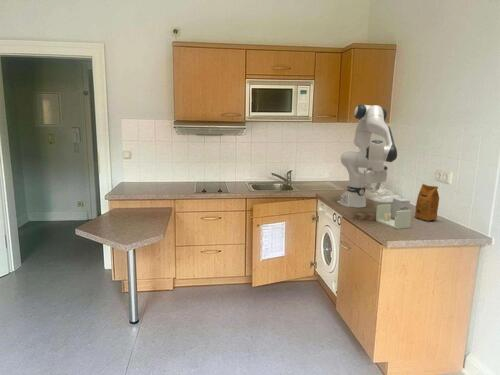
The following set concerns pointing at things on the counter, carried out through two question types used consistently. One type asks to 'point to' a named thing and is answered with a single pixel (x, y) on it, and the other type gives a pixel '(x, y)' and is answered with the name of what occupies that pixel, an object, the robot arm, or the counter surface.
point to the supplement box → (399, 206)
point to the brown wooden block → (364, 216)
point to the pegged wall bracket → (400, 220)
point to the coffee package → (427, 203)
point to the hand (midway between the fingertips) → (373, 189)
